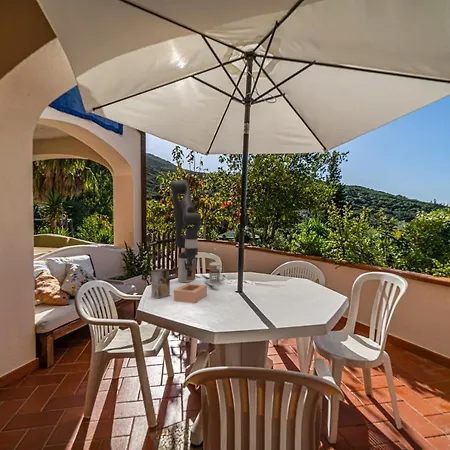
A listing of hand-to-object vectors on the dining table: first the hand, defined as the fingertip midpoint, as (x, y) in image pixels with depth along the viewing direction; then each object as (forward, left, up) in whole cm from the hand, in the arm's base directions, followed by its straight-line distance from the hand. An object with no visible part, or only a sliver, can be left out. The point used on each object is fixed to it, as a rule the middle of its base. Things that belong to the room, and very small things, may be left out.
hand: (191, 275), depth 186 cm
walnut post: (0, 0, -2) cm, 2 cm away
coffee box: (+4, -18, -13) cm, 23 cm away
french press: (-39, +1, -13) cm, 41 cm away
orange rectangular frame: (0, 0, -13) cm, 13 cm away
